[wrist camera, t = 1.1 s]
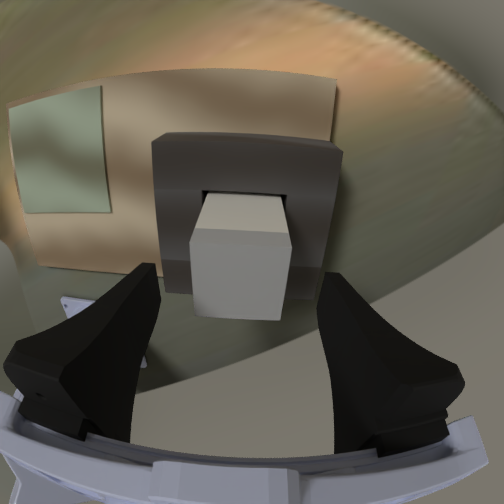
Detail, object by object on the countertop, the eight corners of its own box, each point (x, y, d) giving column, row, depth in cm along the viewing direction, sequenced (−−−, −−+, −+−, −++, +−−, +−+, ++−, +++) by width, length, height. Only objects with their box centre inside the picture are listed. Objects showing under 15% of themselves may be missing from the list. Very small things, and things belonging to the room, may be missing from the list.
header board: (303, 278, 23) (310, 310, 20) (42, 260, 23) (22, 284, 19) (333, 79, 15) (352, 78, 12) (12, 102, 15) (-20, 111, 11)
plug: (271, 236, 20) (280, 320, 14) (213, 233, 20) (194, 316, 13) (277, 181, 18) (292, 247, 11) (213, 178, 18) (189, 242, 11)
